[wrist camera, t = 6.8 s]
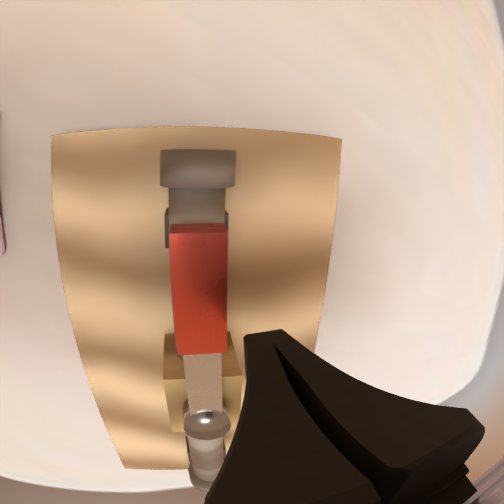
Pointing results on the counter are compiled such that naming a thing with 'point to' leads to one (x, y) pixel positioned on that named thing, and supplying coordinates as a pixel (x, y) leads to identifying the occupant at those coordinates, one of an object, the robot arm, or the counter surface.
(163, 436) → the valve board
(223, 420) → the valve lever
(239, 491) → the robot arm
